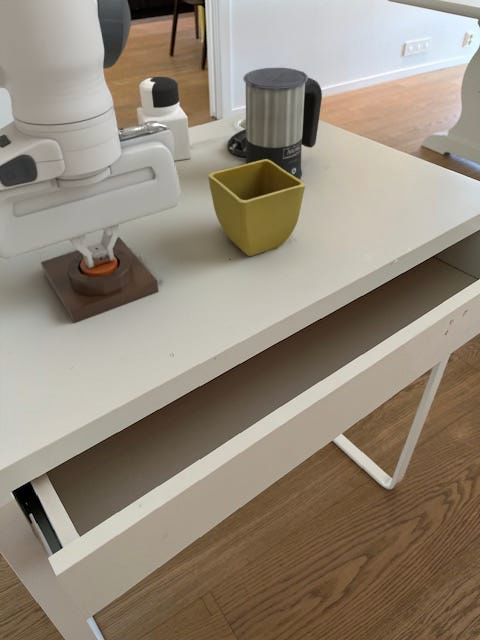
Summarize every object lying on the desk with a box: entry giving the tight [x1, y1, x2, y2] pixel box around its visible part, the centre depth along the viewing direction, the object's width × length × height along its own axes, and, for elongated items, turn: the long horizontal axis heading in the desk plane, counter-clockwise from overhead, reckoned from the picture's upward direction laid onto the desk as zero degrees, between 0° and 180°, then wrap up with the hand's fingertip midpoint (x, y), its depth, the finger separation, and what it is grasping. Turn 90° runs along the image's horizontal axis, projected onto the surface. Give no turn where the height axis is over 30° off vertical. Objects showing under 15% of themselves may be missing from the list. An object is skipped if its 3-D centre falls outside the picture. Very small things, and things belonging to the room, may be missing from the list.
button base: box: [40, 236, 160, 324], centre depth 59 cm, size 11×10×4 cm
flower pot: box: [207, 159, 306, 257], centre depth 63 cm, size 9×9×9 cm
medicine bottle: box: [136, 76, 192, 162], centre depth 84 cm, size 7×7×12 cm
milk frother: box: [226, 67, 323, 180], centre depth 79 cm, size 14×16×15 cm
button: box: [80, 256, 118, 277], centre depth 57 cm, size 4×4×2 cm
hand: (99, 262), depth 57 cm, fingers closed, pressing on button
